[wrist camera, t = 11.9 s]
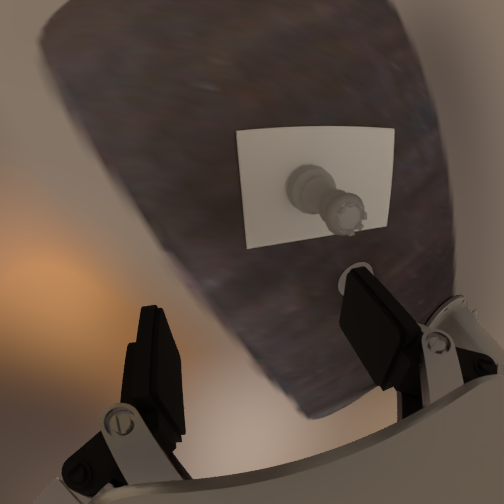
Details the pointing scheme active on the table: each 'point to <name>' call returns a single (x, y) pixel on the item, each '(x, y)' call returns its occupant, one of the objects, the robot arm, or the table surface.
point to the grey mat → (310, 153)
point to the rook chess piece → (326, 200)
